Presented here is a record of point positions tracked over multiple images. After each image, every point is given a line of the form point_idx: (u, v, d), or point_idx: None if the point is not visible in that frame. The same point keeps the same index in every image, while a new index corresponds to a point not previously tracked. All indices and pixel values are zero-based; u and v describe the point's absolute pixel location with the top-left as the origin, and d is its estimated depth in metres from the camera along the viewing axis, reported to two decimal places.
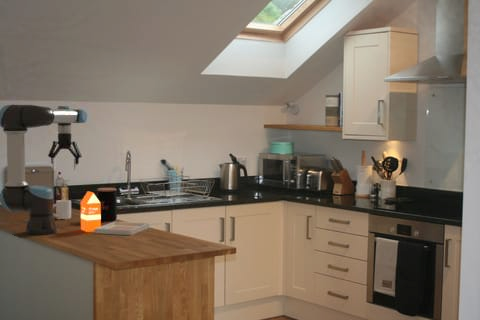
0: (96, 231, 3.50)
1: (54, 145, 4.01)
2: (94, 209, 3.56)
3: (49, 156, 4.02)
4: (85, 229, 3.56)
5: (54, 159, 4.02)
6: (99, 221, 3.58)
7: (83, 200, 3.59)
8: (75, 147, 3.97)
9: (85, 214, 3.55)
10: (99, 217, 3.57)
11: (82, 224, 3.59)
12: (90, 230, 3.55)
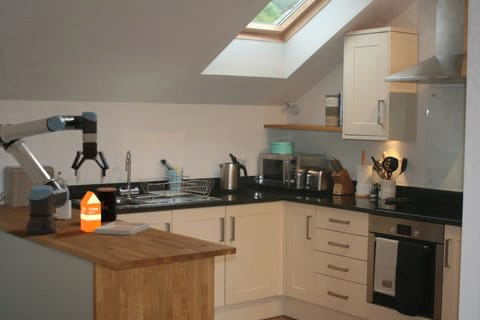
0: (96, 231, 3.50)
1: (78, 155, 3.58)
2: (94, 209, 3.56)
3: (72, 168, 3.59)
4: (85, 229, 3.56)
5: (78, 171, 3.59)
6: (99, 221, 3.58)
7: (83, 200, 3.59)
8: (102, 158, 3.55)
9: (85, 214, 3.55)
10: (99, 217, 3.57)
11: (82, 224, 3.59)
12: (90, 230, 3.55)
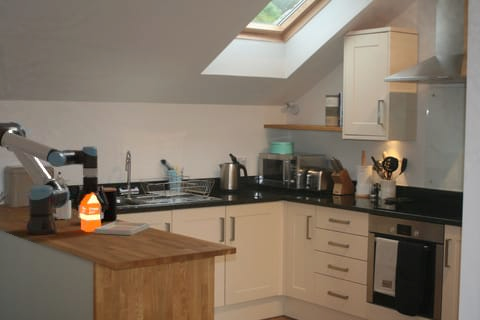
0: (96, 231, 3.50)
1: (79, 190, 3.59)
2: (94, 209, 3.56)
3: (74, 203, 3.60)
4: (85, 229, 3.56)
5: (80, 206, 3.60)
6: (99, 221, 3.58)
7: (83, 200, 3.59)
8: (102, 193, 3.56)
9: (85, 214, 3.55)
10: (99, 217, 3.57)
11: (82, 224, 3.59)
12: (90, 230, 3.55)
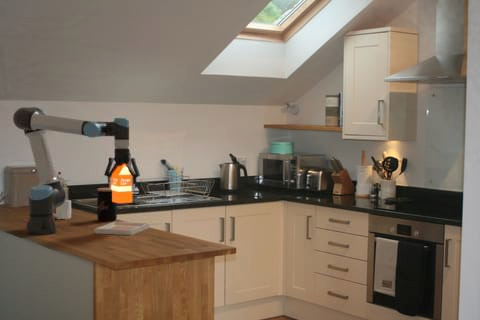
0: (96, 231, 3.50)
1: (110, 162, 3.58)
2: (126, 180, 3.55)
3: (106, 175, 3.59)
4: (116, 201, 3.55)
5: (111, 178, 3.59)
6: (131, 193, 3.56)
7: (114, 172, 3.58)
8: (134, 165, 3.55)
9: (117, 185, 3.54)
10: (130, 189, 3.56)
11: (114, 195, 3.58)
12: (122, 201, 3.54)
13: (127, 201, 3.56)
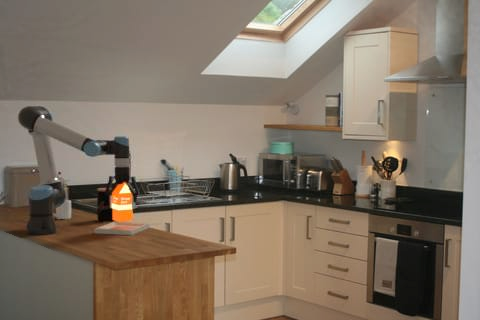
0: (96, 231, 3.50)
1: (111, 180, 3.58)
2: (126, 198, 3.55)
3: (106, 193, 3.60)
4: (117, 219, 3.56)
5: (111, 196, 3.60)
6: (131, 211, 3.57)
7: (115, 190, 3.59)
8: (134, 183, 3.55)
9: (117, 204, 3.55)
10: (131, 207, 3.57)
11: (114, 214, 3.59)
12: (122, 220, 3.55)
13: (127, 219, 3.56)
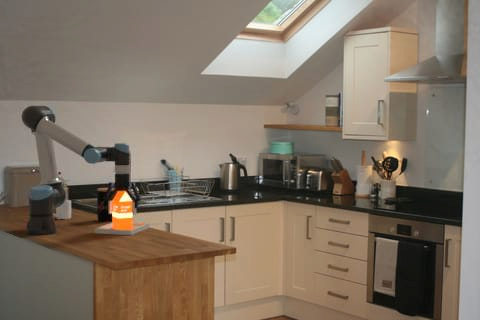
0: (96, 231, 3.50)
1: (110, 187, 3.59)
2: (126, 207, 3.56)
3: (105, 199, 3.60)
4: (117, 227, 3.56)
5: (110, 202, 3.60)
6: (131, 219, 3.58)
7: (115, 198, 3.59)
8: (134, 189, 3.55)
9: (117, 212, 3.55)
10: (130, 215, 3.57)
11: (114, 222, 3.59)
12: (122, 228, 3.55)
13: (127, 228, 3.57)
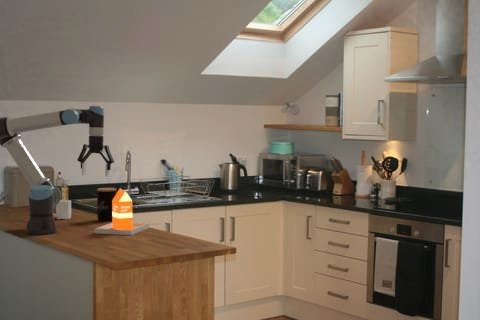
0: (96, 231, 3.50)
1: (84, 149, 3.64)
2: (126, 207, 3.56)
3: (78, 160, 3.65)
4: (117, 227, 3.56)
5: (84, 164, 3.66)
6: (131, 219, 3.58)
7: (115, 198, 3.59)
8: (107, 151, 3.60)
9: (117, 212, 3.55)
10: (130, 215, 3.57)
11: (114, 222, 3.59)
12: (122, 228, 3.55)
13: (127, 228, 3.57)
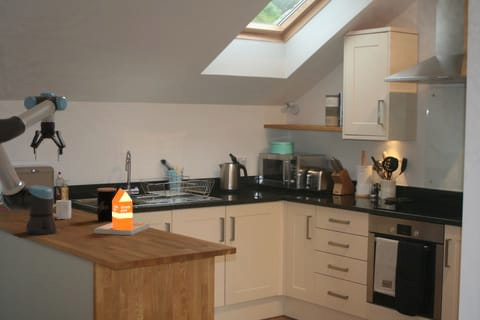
0: (96, 231, 3.50)
1: (37, 134, 3.76)
2: (126, 207, 3.56)
3: (31, 146, 3.78)
4: (117, 227, 3.56)
5: (37, 149, 3.78)
6: (131, 219, 3.58)
7: (115, 198, 3.59)
8: (59, 137, 3.73)
9: (117, 212, 3.55)
10: (130, 215, 3.57)
11: (114, 222, 3.59)
12: (122, 228, 3.55)
13: (127, 228, 3.57)
